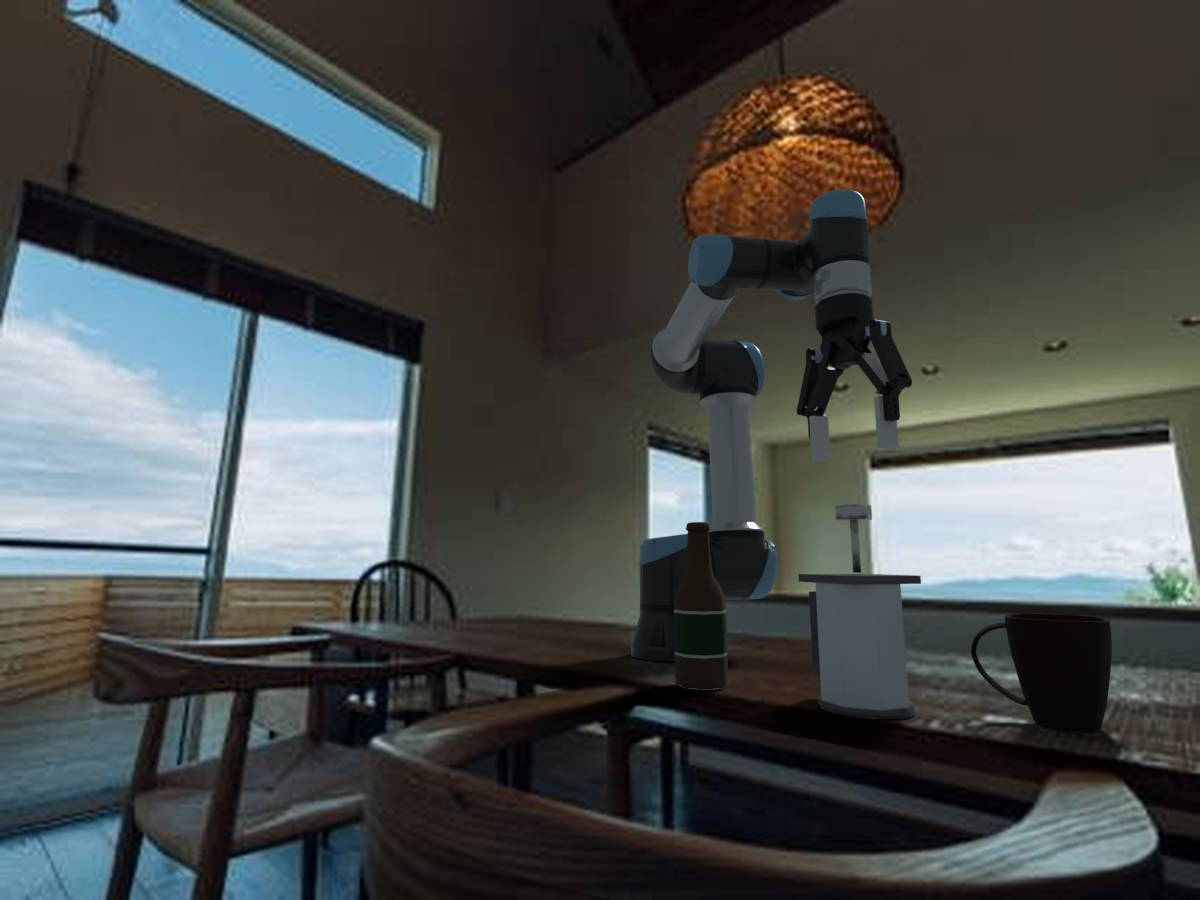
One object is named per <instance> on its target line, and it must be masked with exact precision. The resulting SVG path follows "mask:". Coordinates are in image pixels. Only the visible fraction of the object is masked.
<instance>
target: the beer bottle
mask: <svg viewBox="0 0 1200 900" xmlns="http://www.w3.org/2000/svg"><path fill="white" fill-rule="evenodd" d="M685 526H686V527H685V531H687V534H688V539H687V564H686V572H685V577H684V578H683V580H682V581H681V583H680V585H679V586H678V589H677V592H676V595H675V601H674V640H675V662H674V675H675V684H678V685H681V686H683V687H685V688H697V689H713V688H723V687H725V686H726V685H728V679H729V678H728V676H729V675H728V674H729V673H728V672H729V671H728V668H729V667H728V635H727V608H726V600H725V597H724V594H723V592H722V589H721V586H720V585H719V583H718V582H717V581H716V579H715V578H714V576H713V571H712V566H711V555H710V543H709V532H708V531H709V530H711V529H710V526H711V525H710V523H708V522H705V521H692V522H688V523H686V525H685ZM726 687H727V686H726ZM726 687H725V688H726Z"/></svg>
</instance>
